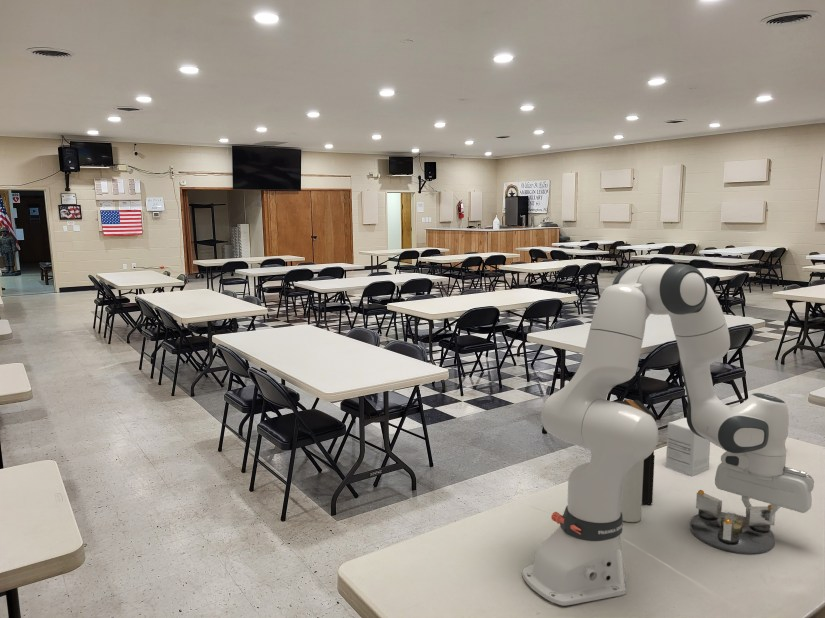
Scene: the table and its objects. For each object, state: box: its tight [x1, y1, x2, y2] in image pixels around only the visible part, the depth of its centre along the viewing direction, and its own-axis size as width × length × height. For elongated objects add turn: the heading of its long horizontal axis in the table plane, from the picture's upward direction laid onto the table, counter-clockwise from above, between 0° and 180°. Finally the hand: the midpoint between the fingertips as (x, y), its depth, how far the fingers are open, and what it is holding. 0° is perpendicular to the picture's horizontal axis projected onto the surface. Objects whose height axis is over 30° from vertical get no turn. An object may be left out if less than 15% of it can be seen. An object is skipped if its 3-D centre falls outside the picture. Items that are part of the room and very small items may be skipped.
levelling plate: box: [689, 511, 775, 555], centre depth 149 cm, size 18×18×4 cm
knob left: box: [695, 489, 723, 521], centre depth 155 cm, size 6×4×6 cm
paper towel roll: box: [621, 460, 644, 523], centre depth 157 cm, size 7×6×21 cm
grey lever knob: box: [745, 504, 776, 533], centre depth 148 cm, size 6×4×6 cm
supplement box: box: [665, 417, 711, 477], centre depth 187 cm, size 9×9×15 cm
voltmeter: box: [614, 399, 657, 506], centre depth 171 cm, size 16×9×25 cm, turn 178°
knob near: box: [718, 511, 739, 544], centre depth 144 cm, size 6×4×6 cm
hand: (759, 517), depth 148 cm, fingers closed on grey lever knob, 3 cm apart
